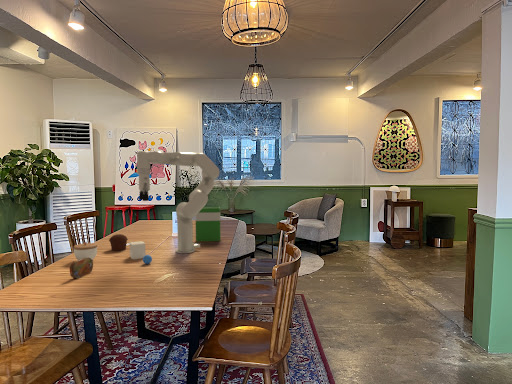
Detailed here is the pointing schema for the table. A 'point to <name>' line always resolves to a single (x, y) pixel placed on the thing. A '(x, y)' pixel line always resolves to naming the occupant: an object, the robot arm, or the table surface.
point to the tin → (81, 267)
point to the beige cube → (137, 250)
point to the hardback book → (208, 224)
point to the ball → (147, 259)
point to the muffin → (118, 242)
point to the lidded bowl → (85, 250)
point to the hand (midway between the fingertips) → (143, 200)
